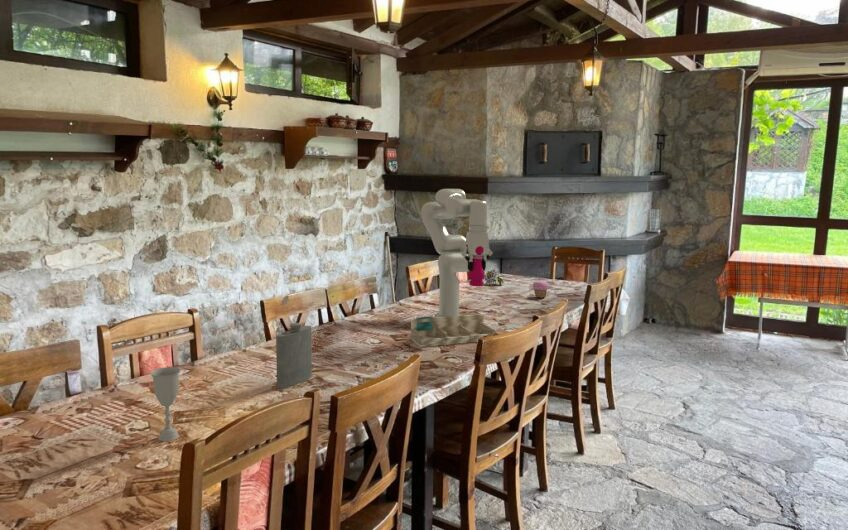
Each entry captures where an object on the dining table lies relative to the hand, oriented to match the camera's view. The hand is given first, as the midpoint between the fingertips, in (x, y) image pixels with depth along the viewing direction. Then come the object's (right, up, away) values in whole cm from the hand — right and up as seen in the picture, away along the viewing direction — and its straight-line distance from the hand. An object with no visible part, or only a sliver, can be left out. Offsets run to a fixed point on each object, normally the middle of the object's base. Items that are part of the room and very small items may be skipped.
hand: (476, 269), depth 278 cm
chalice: (-90, -43, -110) cm, 149 cm away
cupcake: (+43, -16, +80) cm, 92 cm away
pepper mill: (0, -7, +1) cm, 7 cm away
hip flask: (-66, -37, -66) cm, 100 cm away
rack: (-11, -29, -11) cm, 33 cm away
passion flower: (+20, -10, +118) cm, 120 cm away
